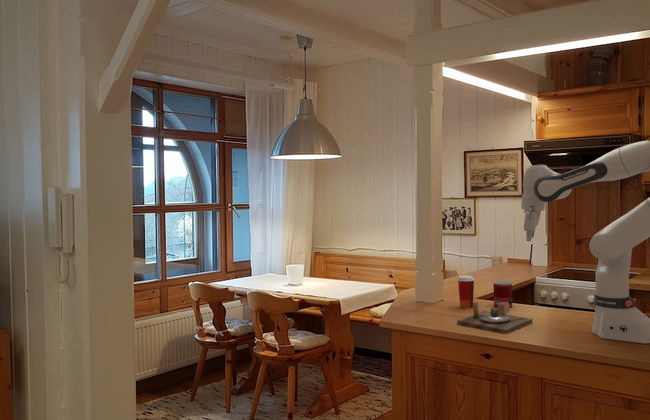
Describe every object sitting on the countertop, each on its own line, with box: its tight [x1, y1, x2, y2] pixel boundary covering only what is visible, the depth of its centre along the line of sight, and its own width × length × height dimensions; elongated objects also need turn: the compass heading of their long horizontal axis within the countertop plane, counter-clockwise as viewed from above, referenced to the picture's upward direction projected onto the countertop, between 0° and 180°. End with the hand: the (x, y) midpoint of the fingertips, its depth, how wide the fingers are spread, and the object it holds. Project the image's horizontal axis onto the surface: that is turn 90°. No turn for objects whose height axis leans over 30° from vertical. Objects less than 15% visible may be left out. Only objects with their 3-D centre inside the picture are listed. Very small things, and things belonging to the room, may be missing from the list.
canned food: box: [492, 280, 513, 309], centre depth 261 cm, size 8×8×11 cm
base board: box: [456, 301, 533, 335], centre depth 234 cm, size 22×20×8 cm
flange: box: [479, 302, 511, 323], centre depth 235 cm, size 15×12×5 cm
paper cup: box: [456, 274, 475, 309], centre depth 262 cm, size 8×8×14 cm
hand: (530, 239), depth 233 cm, fingers open, 8 cm apart
